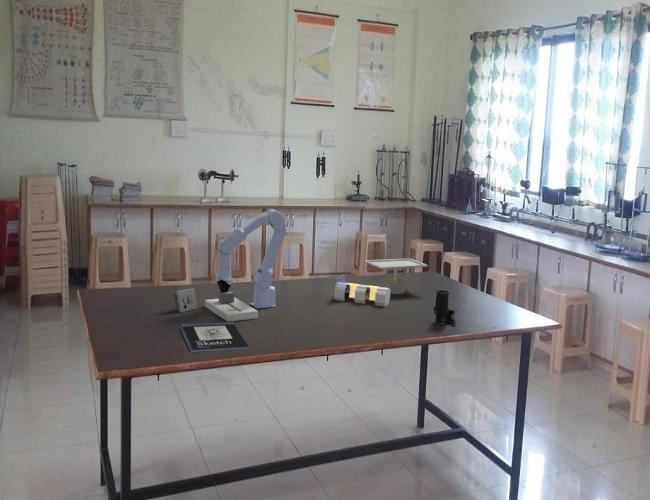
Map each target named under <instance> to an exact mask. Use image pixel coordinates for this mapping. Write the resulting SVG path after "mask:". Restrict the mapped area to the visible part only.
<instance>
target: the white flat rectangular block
mask: <svg viewBox="0 0 650 500" xmlns="http://www.w3.org/2000/svg"><path fill="white" fill-rule="evenodd" d="M204 307H205V308H206V309H208V310H209V311H211V312H212V313H214V314H215V315H217V316H218V317H220V318H221V319H223V320H225V321H226V323H228V322H229V323H230V322H235V321H244V320H245V321H246V320H255V319H259V310H257V309H255V307H253V306H251V305H248V304H247V303H245V302H243V301H241V299H239V298H236V297H235V296H234V302H230V303H220V302H219V298H213V299H205V300H204Z"/></svg>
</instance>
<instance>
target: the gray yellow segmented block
mask: <svg viewBox="0 0 650 500" xmlns="http://www.w3.org/2000/svg"><path fill="white" fill-rule="evenodd" d="M345 277H346V275H345V274H344V273H343V274H342V275H340V276H338V277H337V276H336V284H335V285H334V286H335V287H334V292H333V293H334V295H333V297H334V300H335V301H341V302H345V301H346V300H345V298H350V299H351V298H352V299H354V303H355V304H356V303H357V304H363V305H365V304H366V301H367V300H368V301H374V305H375V306H380V307H387V305H389V303H390V299H391V293H390V291H391V290H390V289H389V288H385V286H383V287H382V286H377V285H376V286H375V285H367V284H359V283H351V282H346V279H347V278H345ZM365 300H366V301H365Z"/></svg>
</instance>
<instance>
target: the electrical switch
mask: <svg viewBox="0 0 650 500" xmlns="http://www.w3.org/2000/svg"><path fill="white" fill-rule="evenodd" d="M173 296H174V303H175V309H176V311H178V312H180V313H185V312H189V311H193V310H197V309H198V304H197V298H196V297H197V296H196V291H195V288H194V287H191V288H186V289H181V290H177V291H176V292H174V293H173Z"/></svg>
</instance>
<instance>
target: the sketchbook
mask: <svg viewBox="0 0 650 500" xmlns="http://www.w3.org/2000/svg"><path fill="white" fill-rule="evenodd" d="M180 330H181V332H182V334H183V337H184V339H185V341H186V344H187V346H188V348H189V350H190V352H191V353H199V352H214V351H216V352H217V351H231V350H232V351H233V350H246V349H250V348H251V346H250V344H249V343H248V341H247V340H246V339H245V337H244V336H243V334H242V333H241V331H240V330H239V328H238V327H237V325H236V324H235V323H234V322H233V321H229V322H222V323H219V322H217V323H216V322H215V323H214V322H211V323H210V322H209V323H193V324H188V323H187V324H186V323H185V324H184V323H182V325H180Z"/></svg>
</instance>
